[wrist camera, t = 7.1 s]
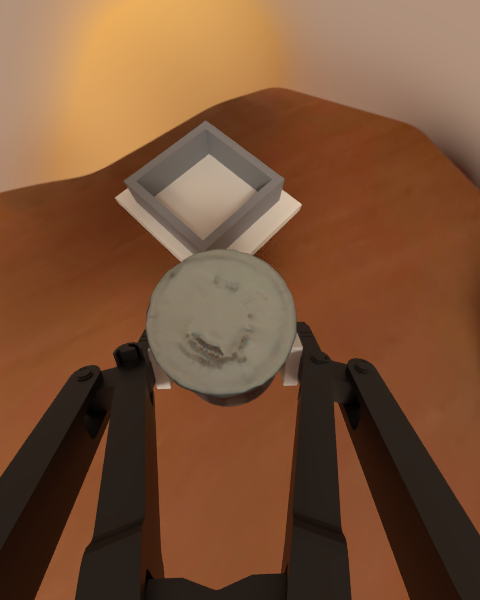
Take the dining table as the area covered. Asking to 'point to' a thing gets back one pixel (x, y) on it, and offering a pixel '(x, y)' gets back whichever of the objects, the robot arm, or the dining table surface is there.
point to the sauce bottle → (222, 325)
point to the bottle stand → (208, 196)
